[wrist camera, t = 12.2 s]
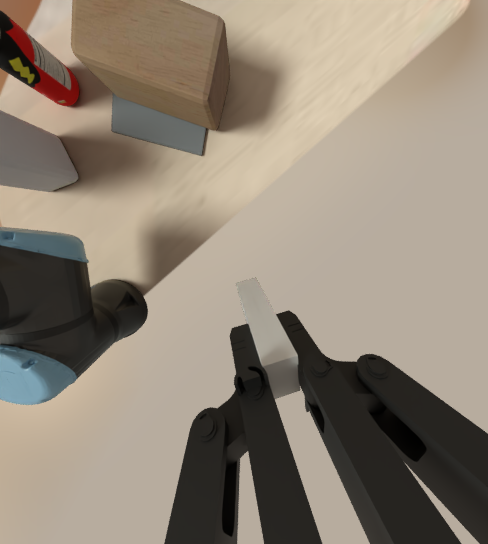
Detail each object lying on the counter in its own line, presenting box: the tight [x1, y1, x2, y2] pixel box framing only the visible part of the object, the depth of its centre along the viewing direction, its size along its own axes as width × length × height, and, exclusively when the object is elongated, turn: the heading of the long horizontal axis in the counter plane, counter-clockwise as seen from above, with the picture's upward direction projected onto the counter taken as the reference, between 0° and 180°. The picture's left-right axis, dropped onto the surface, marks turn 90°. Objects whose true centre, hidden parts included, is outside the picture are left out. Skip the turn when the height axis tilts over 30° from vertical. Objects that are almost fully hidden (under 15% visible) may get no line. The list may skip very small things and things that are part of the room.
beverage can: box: [0, 11, 79, 106], centre depth 29 cm, size 6×6×12 cm
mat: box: [112, 93, 206, 156], centre depth 34 cm, size 18×18×1 cm
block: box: [71, 0, 230, 130], centre depth 29 cm, size 10×10×20 cm
